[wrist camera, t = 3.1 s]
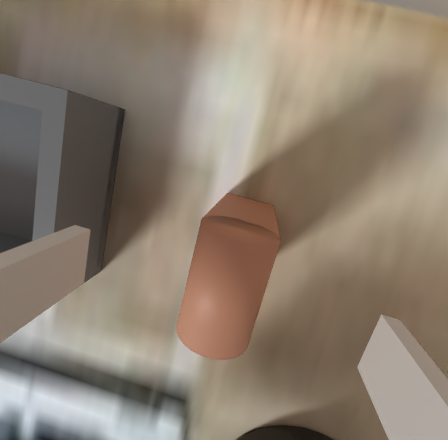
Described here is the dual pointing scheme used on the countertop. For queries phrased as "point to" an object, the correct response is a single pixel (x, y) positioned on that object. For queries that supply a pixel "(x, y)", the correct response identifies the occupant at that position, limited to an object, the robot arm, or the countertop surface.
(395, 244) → the countertop surface
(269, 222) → the wooden peg
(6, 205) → the open box
